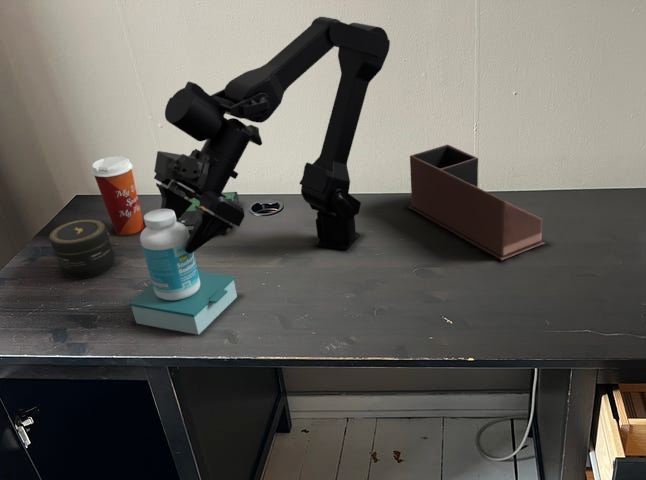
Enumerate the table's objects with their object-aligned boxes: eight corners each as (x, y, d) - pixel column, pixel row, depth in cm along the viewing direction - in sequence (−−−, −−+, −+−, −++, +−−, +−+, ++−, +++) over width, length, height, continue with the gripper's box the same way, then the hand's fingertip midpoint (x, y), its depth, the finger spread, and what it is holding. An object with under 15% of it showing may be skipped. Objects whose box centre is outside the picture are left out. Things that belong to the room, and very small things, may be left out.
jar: (95, 250, 142) (84, 214, 138) (128, 263, 138) (117, 225, 133) (50, 272, 136) (36, 235, 131) (83, 286, 131) (69, 248, 127)
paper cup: (137, 238, 146) (118, 170, 138) (102, 236, 147) (81, 169, 139) (155, 220, 152) (138, 155, 144) (122, 219, 153) (102, 154, 145)
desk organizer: (448, 194, 156) (448, 142, 149) (545, 244, 136) (549, 186, 129) (408, 208, 151) (405, 155, 144) (501, 262, 131) (503, 203, 124)
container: (244, 297, 125) (240, 277, 123) (205, 337, 116) (200, 315, 114) (177, 286, 130) (172, 266, 127) (134, 323, 120) (128, 303, 118)
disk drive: (229, 234, 145) (239, 202, 157) (227, 222, 144) (237, 190, 156) (177, 238, 145) (191, 205, 157) (174, 225, 144) (188, 193, 156)
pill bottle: (194, 302, 117) (174, 225, 109) (149, 302, 118) (126, 225, 110) (206, 278, 123) (189, 204, 115) (164, 279, 124) (143, 204, 116)
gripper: (150, 116, 115) (103, 204, 116) (211, 144, 103) (158, 241, 104) (205, 150, 123) (161, 232, 124) (266, 180, 112) (218, 270, 113)
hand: (173, 242), depth 116 cm, fingers open, 9 cm apart
